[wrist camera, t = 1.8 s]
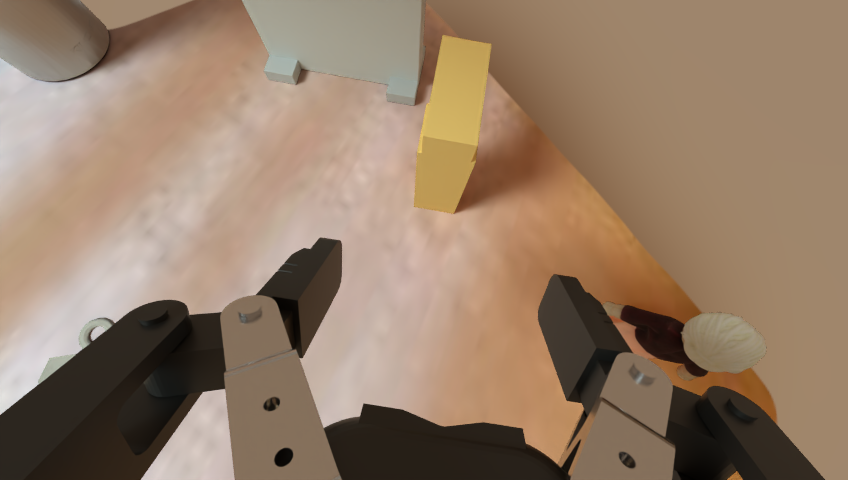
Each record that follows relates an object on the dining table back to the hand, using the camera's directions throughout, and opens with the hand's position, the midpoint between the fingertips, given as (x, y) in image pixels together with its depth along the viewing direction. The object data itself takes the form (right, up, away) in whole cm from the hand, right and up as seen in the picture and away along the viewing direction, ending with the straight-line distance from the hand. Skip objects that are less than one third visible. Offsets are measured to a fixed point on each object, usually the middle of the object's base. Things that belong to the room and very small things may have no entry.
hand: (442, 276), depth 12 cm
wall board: (-9, +21, +23) cm, 32 cm away
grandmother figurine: (+16, -7, +17) cm, 24 cm away
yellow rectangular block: (+1, +8, +20) cm, 21 cm away
